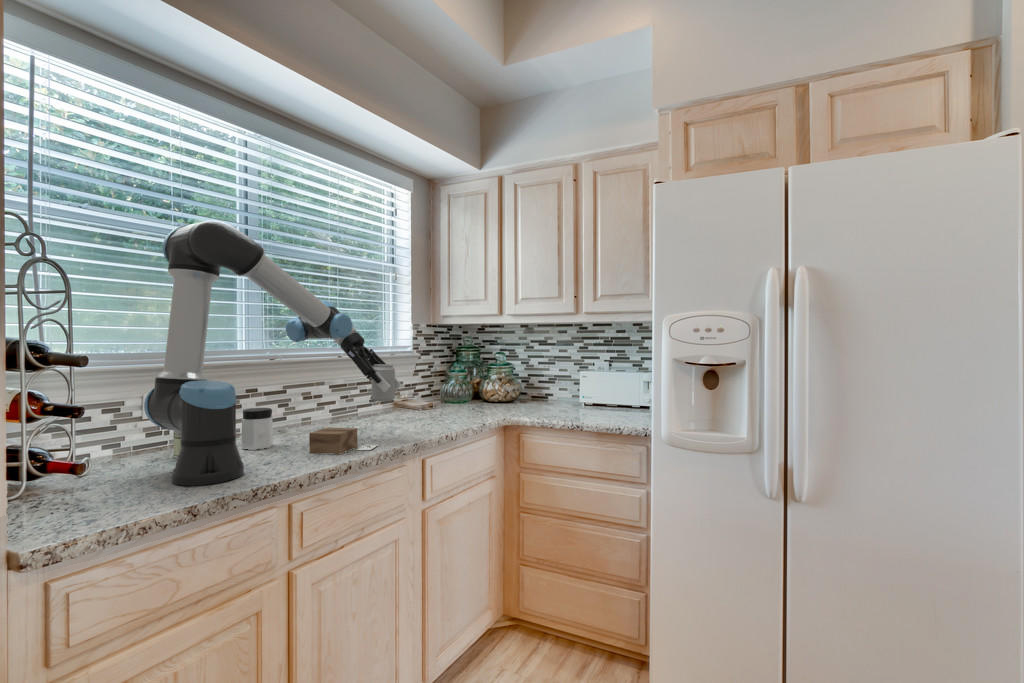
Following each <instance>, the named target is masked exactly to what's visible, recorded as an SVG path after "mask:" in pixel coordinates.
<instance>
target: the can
mask: <svg viewBox="0 0 1024 683" xmlns="http://www.w3.org/2000/svg"><path fill="white" fill-rule="evenodd" d="M373 368H374V370H375V373H376V372H378V373H379V374H380V375H381V376H382V377H383V378H384V380H385V381H386V382H387V383H388V384H389V385H390V386H391V387H390V388H389V389H388V390H387V391H386V392H383V391H382V390H381V388H380V387H379V386H378V385H377V384H376V383H375V382H374V381H373V380H372V379H371V399H372V400H373V401H374V402H392V401H393V400H395V397H396V390H395V378H396V369H395V367H394V364H388V363H386V364H378V365H374V367H373Z"/></svg>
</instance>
